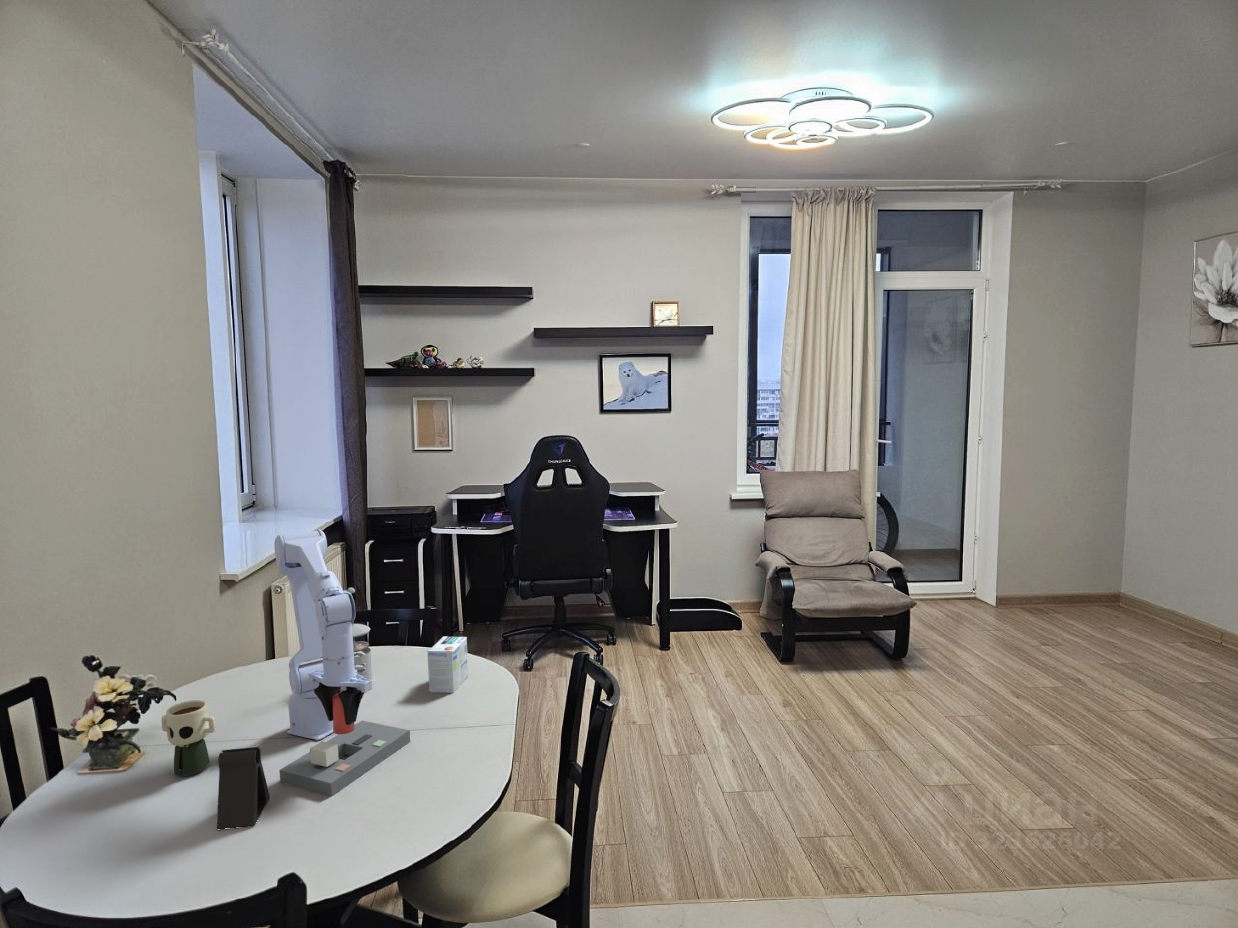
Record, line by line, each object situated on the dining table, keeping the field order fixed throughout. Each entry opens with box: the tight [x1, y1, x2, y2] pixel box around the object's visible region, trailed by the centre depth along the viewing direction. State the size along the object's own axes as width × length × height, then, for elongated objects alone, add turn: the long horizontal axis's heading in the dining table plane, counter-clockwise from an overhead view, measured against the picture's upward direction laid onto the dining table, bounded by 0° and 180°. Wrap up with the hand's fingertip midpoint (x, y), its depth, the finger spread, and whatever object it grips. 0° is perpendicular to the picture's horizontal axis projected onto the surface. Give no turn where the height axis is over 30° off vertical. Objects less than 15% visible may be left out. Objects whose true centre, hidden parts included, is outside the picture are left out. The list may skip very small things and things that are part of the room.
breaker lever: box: [309, 740, 338, 767], centre depth 139 cm, size 4×3×3 cm
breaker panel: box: [279, 720, 411, 797], centre depth 145 cm, size 13×22×3 cm, turn 157°
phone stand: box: [216, 746, 271, 830], centre depth 127 cm, size 9×6×12 cm, turn 10°
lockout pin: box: [332, 693, 355, 735], centre depth 144 cm, size 4×4×7 cm
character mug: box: [161, 699, 216, 776], centre depth 142 cm, size 11×7×13 cm, turn 85°
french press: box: [340, 587, 378, 691], centre depth 183 cm, size 10×12×25 cm
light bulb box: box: [427, 636, 469, 694], centre depth 182 cm, size 11×7×11 cm, turn 172°
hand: (342, 720), depth 143 cm, fingers closed on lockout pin, 4 cm apart
